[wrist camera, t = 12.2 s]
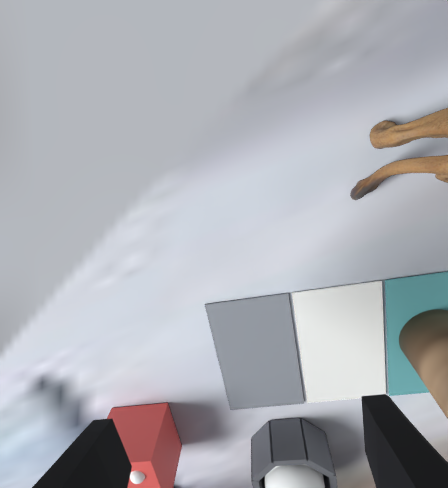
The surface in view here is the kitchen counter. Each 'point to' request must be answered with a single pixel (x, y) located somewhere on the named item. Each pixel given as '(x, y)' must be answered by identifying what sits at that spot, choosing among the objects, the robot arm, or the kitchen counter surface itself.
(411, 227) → the kitchen counter surface
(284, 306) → the game track
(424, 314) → the walnut pawn
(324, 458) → the dome housing
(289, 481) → the dome cap
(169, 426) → the red die
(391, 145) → the lion figurine
